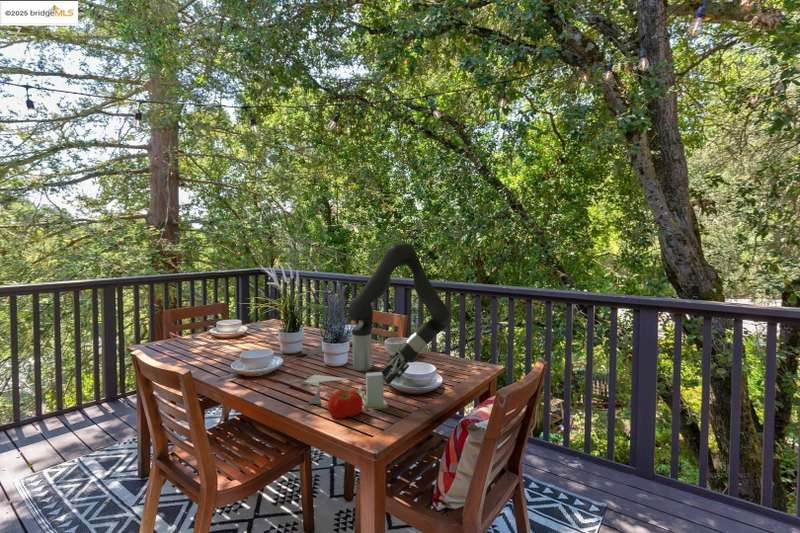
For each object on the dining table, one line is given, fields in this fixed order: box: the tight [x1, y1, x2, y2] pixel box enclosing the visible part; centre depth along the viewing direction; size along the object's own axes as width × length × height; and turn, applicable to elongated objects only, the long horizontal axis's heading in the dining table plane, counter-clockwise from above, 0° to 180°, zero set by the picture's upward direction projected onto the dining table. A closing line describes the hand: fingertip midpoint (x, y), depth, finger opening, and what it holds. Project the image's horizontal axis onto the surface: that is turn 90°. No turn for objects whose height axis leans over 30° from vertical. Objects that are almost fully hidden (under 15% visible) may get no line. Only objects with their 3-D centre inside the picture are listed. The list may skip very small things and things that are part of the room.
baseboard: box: [301, 372, 349, 387], centre depth 184 cm, size 31×3×12 cm
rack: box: [357, 387, 390, 411], centre depth 165 cm, size 18×9×2 cm, turn 13°
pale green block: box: [365, 371, 384, 407], centre depth 159 cm, size 4×6×12 cm, turn 103°
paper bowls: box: [384, 337, 409, 357], centre depth 226 cm, size 15×15×8 cm
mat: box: [308, 391, 322, 406], centre depth 168 cm, size 12×8×1 cm, turn 173°
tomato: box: [327, 389, 363, 420], centre depth 152 cm, size 14×13×9 cm
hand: (384, 378), depth 160 cm, fingers open, 8 cm apart
